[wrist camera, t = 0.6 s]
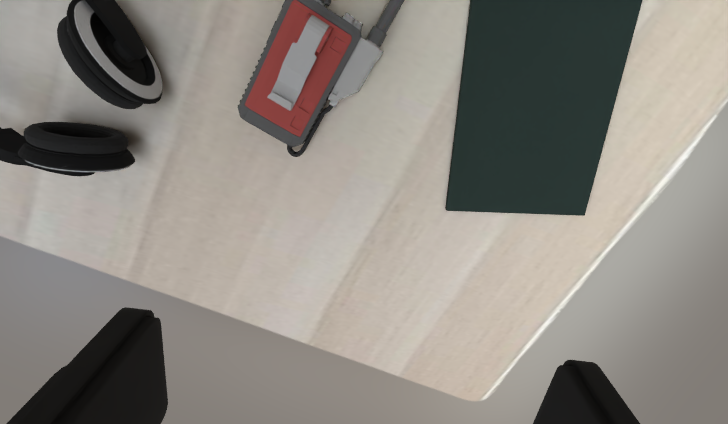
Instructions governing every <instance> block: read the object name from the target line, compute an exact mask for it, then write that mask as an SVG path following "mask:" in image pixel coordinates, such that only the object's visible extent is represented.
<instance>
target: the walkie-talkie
mask: <svg viewBox="0 0 728 424" xmlns="http://www.w3.org/2000/svg"><path fill="white" fill-rule="evenodd" d="M403 2H404V0H390V1H389V3H388V4H387V6H386V8H385V10H384V12H383V14H382V15H381V17H380V19H379V21H378V23H377V25H376V26H374V27H373V28H372V30H371V32H370V34H369V35H368V37H367V39H366V40H365V39H363V38H362V37H361V27H362V25H363V24H362V23H360V22H359V21H357V20H356V19H354V17H353V16H351V15H350V14H348V13H346V14H345V15H344V17H343V16H342V18H341V17H339V16H338V15H336V14H334V13H333V12H331V11H330V10H328V9H327V8H325V5H326V6H329V5H330V3H331V0H285V2H284V4H283V6H282V10H281V12H280V14H279V16H278V19H277V21H275V24H274V26H273V28H272V30H271V34H270V36H269V38H268V41H267V45H266V48H264V52H263V54H261V59H260V60H258V62H259V63H258V65H257V66H256V67H255V68H256V70H255V71H254V72H253V76H252V77H251V78H250V80H251V81H250V83H248V87H247V89H245V94H243V96H242V97H243V98H242V100H240V105H238V110H239V114H240V117H241V118H242V119H243V120H245V121H247V122H248V123H250V124H252V125H254V126H255V127H257V128H259V129H261V130H262V131H264V132H266V133H268V134H269V135H271V136H273V137H275V138H276V139H278V140H280V141H282V142H283V143H285V144H287V150H288V152H289V153H290V154H291V155H292V156H294V157H298V156H300V155H301V154H302V153H303V152H304V151H305V150H306V148H307V146H308V144H309V142H310V140H311V138H312V137H313V135H314V133H315V131H316V129H317V127H318V126H319V124H320V122H321V120H322V119H323V117H324V115H325V114H326V113H327V112H329V111H330V110H331V109H332V108H333V107H336V105H337V104H338V102H339V100H340V99H343V98H345V97H347V96H350V95H352V94H354V93H357V92H359V90H360V88H361V87H362V85H363V83H364V81H365V80H366V78H367V76H368V74H369V73H370V71H371V69H372V67H373V66H374V64H375V62H376V61H377V60H379V59H380V57H381V55H382V53H383V51H382V50H380V49H379V48H380V46H381V44H382V43H383V41H384V39H385V37H386V32H387V30H388V28H389V27H390V25H391V23H392V21H393V19H394V18H395V16H396V14H397V12H398V11H399V9H400V7H401V5H402V3H403ZM353 20H354V21H353ZM331 91H332V92H331ZM328 99H329V100H331V101H330V103H329V104H330V105H329V106H328V107H327V108H325V109H324V110H323V107H324V106H325V105H326V101H327V100H328ZM322 110H323V111H322ZM321 111H322V112H321ZM320 112H321V113H320ZM318 116H319V117H318ZM312 127H313V128H312ZM304 142H305V143H304ZM303 143H304V145H303V146H302V148H301V150H300V151H298V152H295V151H294V150H293V149H292V147H295V146H298V145H301V144H303Z"/></svg>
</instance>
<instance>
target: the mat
mask: <svg viewBox="0 0 728 424" xmlns="http://www.w3.org/2000/svg"><path fill="white" fill-rule="evenodd" d="M641 3H642V0H470V9H469V17H468V25H467V34H466V42H465V50H464V59H463V67H462V75H461V84H460V92H459V100H458V109H457V117H456V125H455V134H454V142H453V150H452V158H451V167H450V175H449V183H448V192H447V200H446V210H447V211H472V212H500V213H528V214H556V215H585V212H586V208H587V204H588V201H589V197H590V193H591V190H592V186H593V182H594V178H595V175H596V171H597V167H598V163H599V160H600V156H601V152H602V149H603V145H604V141H605V137H606V134H607V130H608V126H609V122H610V119H611V115H612V111H613V108H614V104H615V100H616V96H617V93H618V89H619V85H620V82H621V78H622V74H623V70H624V67H625V63H626V59H627V55H628V52H629V48H630V44H631V41H632V37H633V33H634V29H635V26H636V22H637V18H638V14H639V11H640V7H641Z"/></svg>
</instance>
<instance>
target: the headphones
mask: <svg viewBox="0 0 728 424" xmlns="http://www.w3.org/2000/svg"><path fill="white" fill-rule="evenodd" d="M57 34H58V41H59V46H60V48H61V51H62V53H63V55H64V57H65V59H66V61H67V63H68V64H69V66H70V67H71V69H72V70H73V72H74V73H75V74H76V75H77V76H78V77H79V78H80V79H81V80H82V82H83V83H84V84H85V85H86V86H87V87H88V88H90V89H91V90H92V91H93V92H94V93H95V94H97V95H98V96H99V97H101V98H102V99H104V100H105V101H107V102H109V103H111V104H113V105H115V106H118V107H121V108H124V109H135V108H138V107H140V106H141V105H142V104H143V103H144V104H152V103H156V102H158V101H159V100H160V99H161V96H162V79H161V75H160V72H159V70H158V67H157V65H156V63H155V61H154V59H153V57H152V55H151V54H150V52H149V51H148V49H147V48H146V46H145V45H144V43H143V42H142V40H141V38H140V37H139V35H138V33H137V31H136V30H135V28H134V27H133V25H132V24H131V22H130V21H129V19H128V18H127V16H126V15H125V13H124V12H123V10H122V9H121V8H120V6H119V5H118V4H117V2H116V1H115V0H72V1H71V3H70V4H69V7H68V10H67V16H66V17H65V18H63V19H62V20H61V21H60V23H59V25H58V29H57ZM127 146H128V139H127V137H126V136H125V135H124V134H122V133H121V132H119V131H117V130H114V129H111V128H106V127H102V126H97V125H90V124H81V123H68V122H43V123H37V124H32V125H30V126H29V127H27V128H26V129H25V131H24V136H22V135H20V134H19V133H17V132H16V131H15V130H13V129H12V128H6V129H1V128H0V160H1V161H4V162H7V163H12V164H17V165H27V166H30V167H34V168H38V169H42V170H45V171H49V172H54V173H59V174H64V175H70V176H88V175H92V174H94V173H95V172H106V171H116V170H121V169H125V168H127V167H129V166H130V165H132V164H133V163H134V162H135V159H134V157H133V155H132V154H131V152H130V151H129V150H128V149H127Z"/></svg>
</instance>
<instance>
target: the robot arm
mask: <svg viewBox="0 0 728 424" xmlns="http://www.w3.org/2000/svg"><path fill="white" fill-rule="evenodd" d="M167 405H168V399H167V388H166V376H165V366H164V355H163V342H162V331H161V322H160V319H159V318H154V314H153V312H152V311H150V310H143V309H134V308H122V309H121V310H120V311H119V312H118V313H117V314H116V315H115V316H114V317H113V318H112V319H111V320H110V321H109V322H108V323H107V324H106V325H105V326H104V327H103V328H102V329H101V330H100V331H99V332H98V334H97V335H96V336H95V337H94V338H93V339H92V340H91V341H90V342H89V343H88V344H87V345H86V346H85V347H84V348H83V349H82V350H81V351H80V352H79V353H78V354H77V356H76V357H75V358H74V359H73V360H72V361H71V362H70V363H69V364H68V365H67V366H65V367H63V368H61V369H60V370H59V371H58V372H57V373H55V374H54V375H53V376H52V377H51V378H50V379H49V380H48V381H47V382H46V384H45V385H44V386H43V387H42V388H41V389H40V390H39V391H38V392H37V393H36V394H35V395H34V396H33V397H32V398H31V399H30V400H29V401H28V402H27V403H26V404H25V405H24V406H23V407H22V408H21V409H20V410H19V411H18V412H17V414H16V415H15V416H14V417H13V418H12V419H11V420H10V421H9V422H8V423H7V424H161V422H162V420H163V418H164V416H165V413H166V410H167ZM533 424H640V423H639V422H638V420H637V419H636V417H635V416H634V415H633V413H632V412H631V410H630V409H629V408H628V407H627V405H626V404H625V402H624V401H623V399H622V398H621V397H620V395H619V394H618V392H617V391H616V390H615V388H614V387H613V385H612V384H611V383H610V381H609V380H608V379H607V377H606V376H605V374H604V373H603V371H602V370H601V369H600V367H598V365H597V364H595V363H593V362H585V361H576V360H567V361H566V362H565V363H564V365H560V366H559V367H558V368H557V370H556V372H555V374H554V377H553V379H552V381H551V383H550V386H549V388H548V390H547V393H546V395H545V397H544V400H543V402H542V404H541V406H540V409H539V411H538V413H537V416H536V418H535V420H534V423H533Z"/></svg>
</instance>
